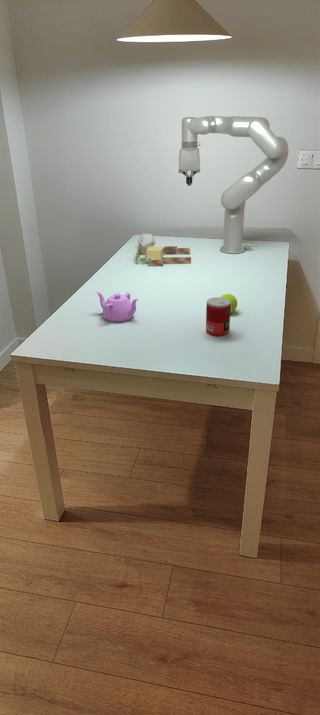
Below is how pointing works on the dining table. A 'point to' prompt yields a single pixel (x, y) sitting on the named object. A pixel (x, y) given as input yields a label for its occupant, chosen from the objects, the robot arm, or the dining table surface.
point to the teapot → (118, 307)
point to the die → (146, 241)
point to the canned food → (218, 316)
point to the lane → (165, 260)
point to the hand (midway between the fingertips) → (189, 185)
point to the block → (155, 252)
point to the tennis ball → (233, 301)
